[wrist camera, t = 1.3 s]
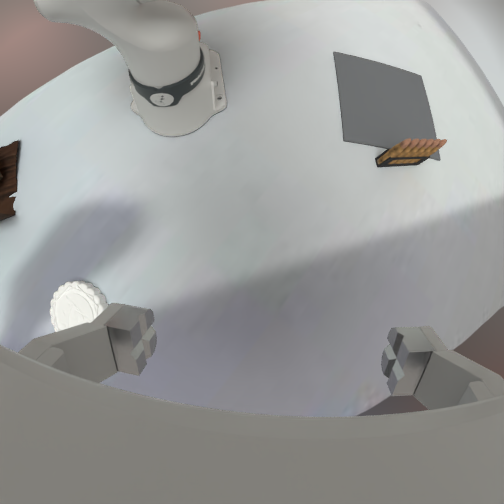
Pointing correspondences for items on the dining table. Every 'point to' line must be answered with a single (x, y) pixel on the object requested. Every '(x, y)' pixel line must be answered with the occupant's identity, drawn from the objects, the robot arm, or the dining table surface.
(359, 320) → the dining table surface
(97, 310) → the mooncake
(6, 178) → the potted plant
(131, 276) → the dining table surface
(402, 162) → the ammunition clip
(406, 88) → the slate mat
